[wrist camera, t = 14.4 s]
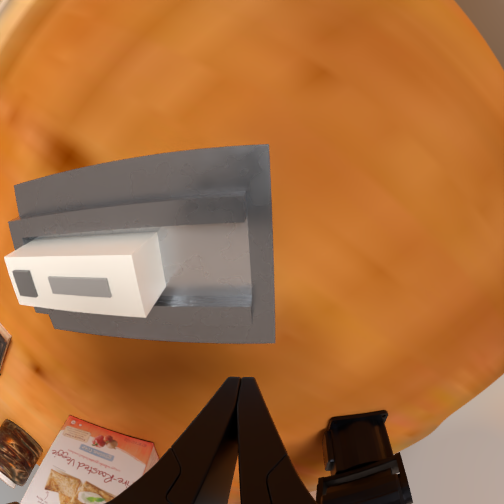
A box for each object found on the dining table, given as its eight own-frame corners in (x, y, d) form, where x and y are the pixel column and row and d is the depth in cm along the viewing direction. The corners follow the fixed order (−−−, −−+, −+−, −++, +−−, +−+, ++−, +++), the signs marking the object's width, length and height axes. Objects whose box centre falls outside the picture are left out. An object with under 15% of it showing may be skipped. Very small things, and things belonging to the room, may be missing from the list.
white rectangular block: (157, 231, 18) (129, 257, 14) (166, 286, 20) (144, 320, 16) (34, 239, 19) (1, 258, 15) (46, 282, 21) (17, 306, 17)
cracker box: (153, 440, 30) (112, 572, 11) (160, 459, 33) (128, 575, 13) (67, 411, 31) (11, 517, 11) (80, 433, 33) (34, 530, 14)
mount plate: (268, 144, 17) (268, 144, 15) (275, 333, 22) (275, 356, 20) (22, 182, 19) (2, 189, 16) (60, 322, 24) (46, 337, 21)
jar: (2, 421, 41) (-23, 459, 27) (9, 416, 38) (-20, 460, 24) (36, 452, 44) (15, 491, 30) (48, 450, 41) (25, 496, 27)
